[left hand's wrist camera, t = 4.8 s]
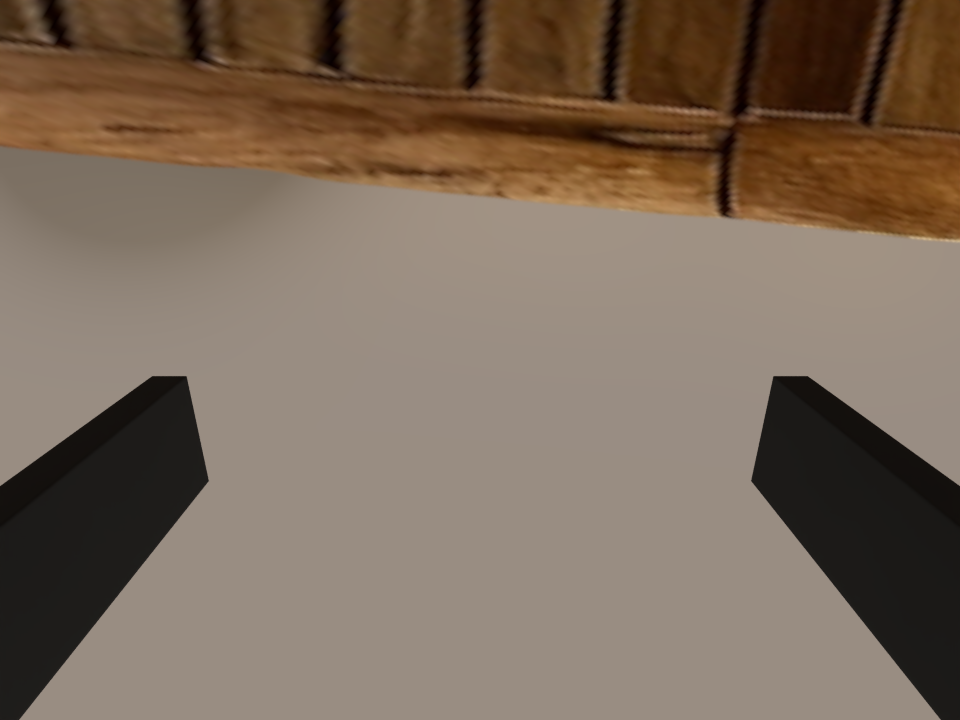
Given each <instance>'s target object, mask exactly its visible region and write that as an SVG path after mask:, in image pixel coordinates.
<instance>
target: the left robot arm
mask: <svg viewBox="0 0 960 720" xmlns="http://www.w3.org/2000/svg"><path fill="white" fill-rule="evenodd" d="M208 481H209V480H208V475H207V470H206V466H205V461H204V456H203V452H202V447H201V442H200V438H199V433H198V428H197V424H196V419H195V414H194V409H193V405H192V400H191V395H190V391H189V386H188V381H187V377H186V376H152V377H151V378H149V379H148V380H146V381H145V382H144V383H142V384H141V385H140V386H138V387H137V388H135V389H134V390H133V391H131V392H130V393H128V394H127V395H126V396H124V397H123V398H122V399H120V400H119V401H117V402H116V403H115V404H113V405H112V406H110V407H109V408H108V409H106V410H105V411H104V412H102V413H101V414H99V415H98V416H97V417H95V418H94V419H92V420H91V421H90V422H88V423H87V424H86V425H84V426H83V427H81V428H80V429H79V430H77V431H76V432H74V433H73V434H72V435H70V436H69V437H68V438H66V439H65V440H63V441H62V442H61V443H59V444H58V445H56V446H55V447H54V448H52V449H51V450H50V451H48V452H47V453H45V454H44V455H43V456H41V457H40V458H38V459H37V460H36V461H34V462H33V463H32V464H30V465H29V466H27V467H26V468H25V469H23V470H22V471H20V472H19V473H18V474H16V475H15V476H14V477H12V478H11V479H9V480H8V481H7V482H5V483H4V484H3V485H1V486H0V720H19V719H20V718H21V717H22V715H23V714H24V713H25V712H26V710H27V709H28V708H29V707H30V705H31V704H32V703H33V702H34V700H35V699H36V698H37V697H38V695H39V694H40V693H41V692H42V690H43V689H44V688H45V686H46V685H47V684H48V683H49V681H50V680H51V679H52V678H53V676H54V675H55V674H56V673H57V671H58V670H59V669H60V668H61V666H62V665H63V664H64V663H65V661H66V660H67V659H68V658H69V656H70V655H71V654H72V652H73V651H74V650H75V649H76V647H77V646H78V645H79V644H80V642H81V641H82V640H83V639H84V637H85V636H86V635H87V634H88V632H89V631H90V630H91V628H92V627H93V626H94V625H95V624H96V622H97V621H98V620H99V618H100V617H101V616H102V615H103V613H104V612H105V611H106V610H107V608H108V607H109V606H110V605H111V603H112V602H113V601H114V600H115V598H116V597H117V596H118V595H119V593H120V592H121V591H122V590H123V588H124V587H125V586H126V585H127V583H128V582H129V581H130V579H131V578H132V577H133V576H134V574H135V573H136V572H137V571H138V569H139V568H140V567H141V566H142V564H143V563H144V562H145V561H146V559H147V558H148V557H149V555H150V554H151V553H152V552H153V551H154V549H155V548H156V547H157V545H158V544H159V543H160V542H161V540H162V539H163V538H164V537H165V535H166V534H167V533H168V532H169V530H170V529H171V528H172V527H173V525H174V524H175V523H176V522H177V520H178V519H179V518H180V516H181V515H182V514H183V513H184V511H185V510H186V509H187V508H188V506H189V505H190V504H191V503H192V501H193V500H194V499H195V497H196V496H197V495H198V494H199V493H200V491H201V490H202V489H203V488H204V486H205V485H206V484H207V482H208ZM751 481H752V483H753V484H754V485H755V486H756V488H757V489H758V490H759V491H760V493H761V494H762V495H763V496H764V498H765V499H766V500H767V501H768V503H769V504H770V505H771V506H772V508H773V509H774V510H775V511H776V513H777V514H778V515H779V517H780V518H781V519H782V520H783V521H784V523H785V524H786V525H787V527H788V528H789V529H790V530H791V532H792V533H793V534H794V535H795V537H796V538H797V539H798V540H799V542H800V543H801V544H802V545H803V547H804V548H805V549H806V550H807V552H808V553H809V554H810V555H811V557H812V558H813V559H814V561H815V562H816V563H817V564H818V566H819V567H820V568H821V569H822V571H823V572H824V573H825V574H826V576H827V577H828V578H829V579H830V581H831V582H832V583H833V585H834V586H835V587H836V588H837V589H838V591H839V592H840V593H841V595H842V596H843V597H844V598H845V600H846V601H847V602H848V603H849V605H850V606H851V607H852V608H853V610H854V611H855V612H856V613H857V615H858V616H859V617H860V619H861V620H862V621H863V622H864V624H865V625H866V626H867V627H868V629H869V630H870V631H871V632H872V634H873V635H874V636H875V637H876V639H877V640H878V641H879V642H880V644H881V645H882V646H883V647H884V649H885V650H886V651H887V652H888V654H889V655H890V656H891V658H892V659H893V660H894V661H895V663H896V664H897V665H898V666H899V668H900V669H901V670H902V671H903V673H904V674H905V675H906V676H907V678H908V679H909V680H910V681H911V683H912V684H913V685H914V686H915V688H916V689H917V690H918V692H919V693H920V694H921V695H922V697H923V698H924V699H925V700H926V702H927V703H928V704H929V705H930V707H931V708H932V709H933V710H934V712H935V713H936V714H937V715H938V717H939V718H940V719H941V720H960V486H959V485H957V484H956V483H955V482H953V481H952V480H951V479H949V478H948V477H946V476H945V475H944V474H942V473H941V472H940V471H938V470H937V469H935V468H934V467H933V466H931V465H930V464H928V463H927V462H926V461H924V460H923V459H922V458H920V457H919V456H917V455H916V454H915V453H913V452H912V451H910V450H909V449H908V448H906V447H905V446H904V445H902V444H901V443H899V442H898V441H897V440H895V439H894V438H892V437H891V436H890V435H888V434H887V433H886V432H884V431H883V430H881V429H880V428H879V427H877V426H876V425H874V424H873V423H872V422H870V421H869V420H868V419H866V418H865V417H863V416H862V415H861V414H859V413H858V412H856V411H855V410H854V409H852V408H851V407H850V406H848V405H847V404H845V403H844V402H843V401H841V400H840V399H838V398H837V397H836V396H834V395H833V394H832V393H830V392H829V391H827V390H826V389H825V388H823V387H822V386H821V385H819V384H818V383H816V382H815V381H814V380H812V379H811V378H809V377H808V376H774V377H773V381H772V386H771V390H770V395H769V400H768V405H767V409H766V414H765V419H764V423H763V428H762V433H761V438H760V442H759V447H758V452H757V456H756V461H755V466H754V470H753V475H752V480H751Z"/></svg>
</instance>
